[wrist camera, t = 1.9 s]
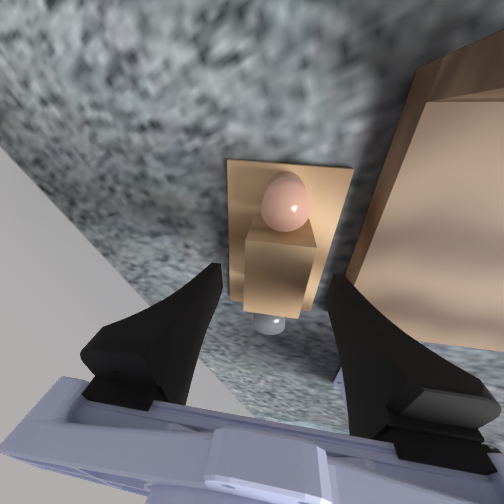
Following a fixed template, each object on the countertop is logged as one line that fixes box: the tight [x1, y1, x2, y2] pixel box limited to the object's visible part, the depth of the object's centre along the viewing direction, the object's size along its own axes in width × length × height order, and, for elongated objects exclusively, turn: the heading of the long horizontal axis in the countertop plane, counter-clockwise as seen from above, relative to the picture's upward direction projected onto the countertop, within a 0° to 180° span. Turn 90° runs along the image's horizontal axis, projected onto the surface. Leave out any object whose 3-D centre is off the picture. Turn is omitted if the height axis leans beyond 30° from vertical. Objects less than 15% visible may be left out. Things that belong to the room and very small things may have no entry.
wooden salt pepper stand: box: [227, 159, 354, 335], centre depth 15 cm, size 13×8×5 cm, turn 177°
